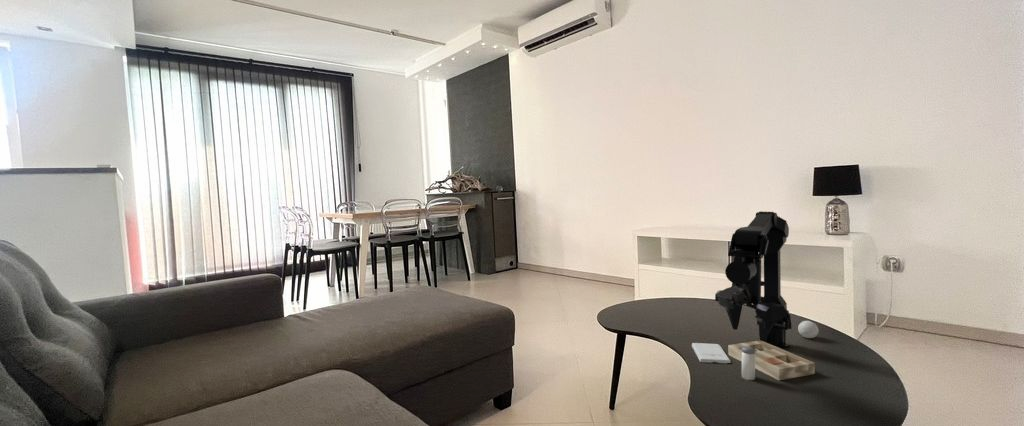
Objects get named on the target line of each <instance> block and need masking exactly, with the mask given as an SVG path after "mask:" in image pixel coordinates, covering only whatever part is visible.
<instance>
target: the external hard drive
mask: <svg viewBox="0 0 1024 426" xmlns="http://www.w3.org/2000/svg"><path fill="white" fill-rule="evenodd" d="M691 348H692V349H693V351H694V353H695V355H696V357H697V358H698V360H699V362H700V363H708V364H709V363H711V364H712V363H713V362H714V363H713V364H716V363H717V364H727V363H732V362H731V359H730V358H729V356H728V355H727V354H726V352H725V351H724V349H723V348H722V347H721V345H720V344H717V343H705V342H703V343H701V342H692V343H691Z"/></svg>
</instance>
